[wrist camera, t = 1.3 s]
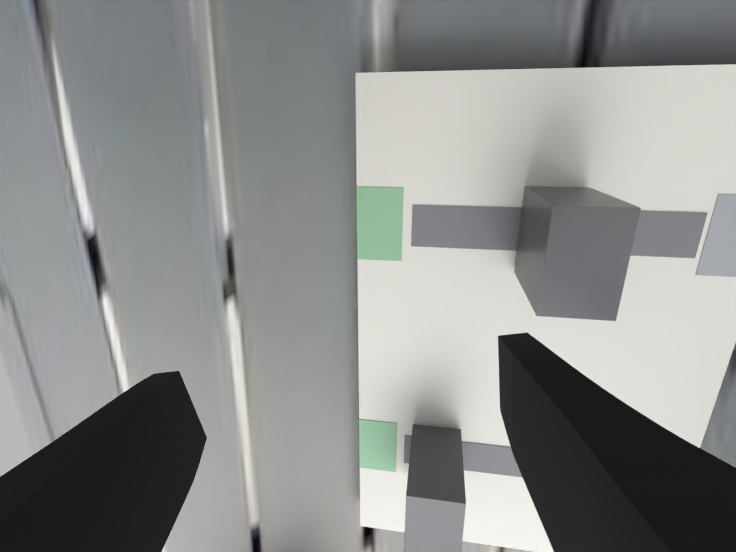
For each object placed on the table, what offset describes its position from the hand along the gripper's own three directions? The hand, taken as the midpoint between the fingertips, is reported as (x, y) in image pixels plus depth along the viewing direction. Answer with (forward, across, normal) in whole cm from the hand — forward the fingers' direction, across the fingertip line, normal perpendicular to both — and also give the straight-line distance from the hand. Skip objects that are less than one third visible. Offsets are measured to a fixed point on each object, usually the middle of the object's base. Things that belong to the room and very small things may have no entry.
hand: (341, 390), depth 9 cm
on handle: (+9, -2, +12) cm, 15 cm away
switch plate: (+10, -7, +6) cm, 14 cm away
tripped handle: (+9, -8, 0) cm, 12 cm away
